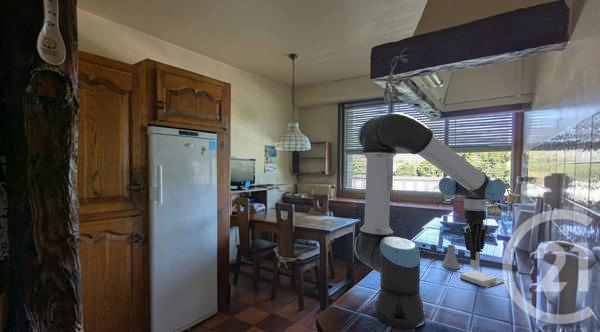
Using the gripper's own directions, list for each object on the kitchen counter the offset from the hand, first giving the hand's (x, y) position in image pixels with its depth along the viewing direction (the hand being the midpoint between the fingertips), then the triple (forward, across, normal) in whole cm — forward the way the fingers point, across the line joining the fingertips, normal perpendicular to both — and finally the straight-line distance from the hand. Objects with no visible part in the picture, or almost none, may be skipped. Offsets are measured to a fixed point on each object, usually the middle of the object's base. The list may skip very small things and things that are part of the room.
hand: (474, 267), depth 117 cm
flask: (+6, +7, +16) cm, 19 cm away
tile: (+5, -2, 0) cm, 5 cm away
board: (+6, +4, 0) cm, 7 cm away
